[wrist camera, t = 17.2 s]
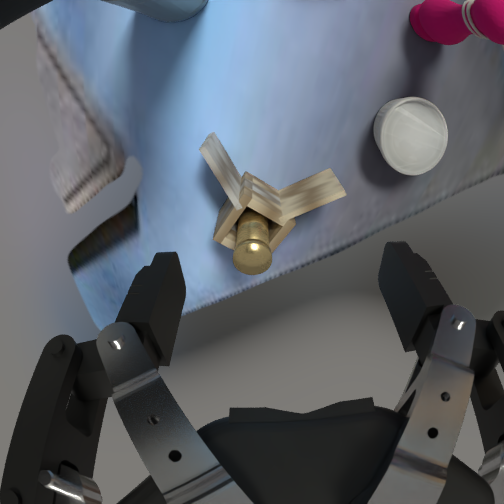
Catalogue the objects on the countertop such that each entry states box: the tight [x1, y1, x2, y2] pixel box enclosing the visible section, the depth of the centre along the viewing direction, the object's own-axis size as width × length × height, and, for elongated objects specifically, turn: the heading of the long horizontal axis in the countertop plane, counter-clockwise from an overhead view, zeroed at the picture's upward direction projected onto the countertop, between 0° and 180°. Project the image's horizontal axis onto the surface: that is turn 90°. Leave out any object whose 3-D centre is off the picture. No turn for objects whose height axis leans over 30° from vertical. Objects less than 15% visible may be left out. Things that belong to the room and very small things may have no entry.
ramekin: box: [373, 97, 448, 175], centre depth 35 cm, size 11×11×5 cm
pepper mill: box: [410, 0, 504, 45], centre depth 18 cm, size 7×7×20 cm
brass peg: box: [233, 206, 272, 275], centre depth 39 cm, size 4×4×14 cm
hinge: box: [199, 132, 346, 253], centre depth 39 cm, size 18×15×8 cm
